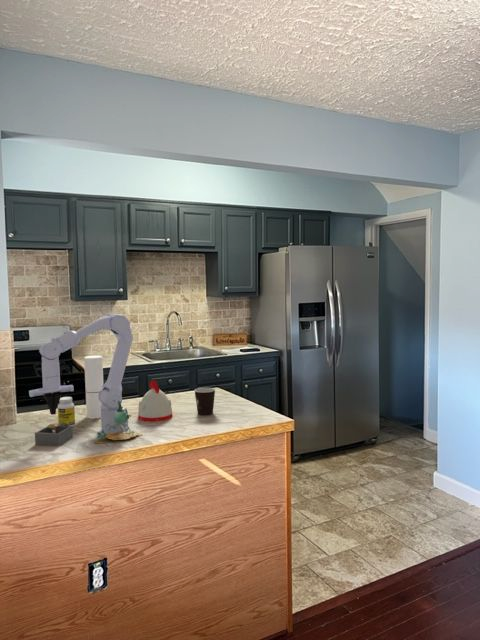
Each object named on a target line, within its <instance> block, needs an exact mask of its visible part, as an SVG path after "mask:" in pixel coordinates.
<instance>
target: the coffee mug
mask: <svg viewBox="0 0 480 640" xmlns="http://www.w3.org/2000/svg"><path fill="white" fill-rule="evenodd" d="M215 395H216V389H215V388H213V387H198V388H195V389H194V396H195V403H196V404H195V405H196V410H197V411H196V412H197V415H199V416H205V417H206V416H211V415H213V413H214V407H215V405H214V404H215Z"/></svg>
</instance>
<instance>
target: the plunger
mask: <svg viewBox="0 0 480 640" xmlns="http://www.w3.org/2000/svg"><path fill="white" fill-rule="evenodd" d="M47 426H48V429H52V432H53V433H56V432H55V429H57V428H59V424H58V422H56V423H50V424H48V425H47Z"/></svg>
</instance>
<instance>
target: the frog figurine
mask: <svg viewBox="0 0 480 640" xmlns="http://www.w3.org/2000/svg"><path fill="white" fill-rule="evenodd" d="M118 405H119V409H118V410H117V412H116V413H115V416H114V419H115V422H116V423H118V425H119V424H122V425H123V426H124V423H125V422H126V421H127V420H128V421H129V419H130V417H132V415H131V414H129V413H128V414H127V411H128V410H126V411H124V409H122V408H124V407H123V406H122V403H121V402H120V401H118ZM107 425H108V424H107ZM107 425H106V426H107ZM116 425H117V424H116ZM116 425H115V426H116ZM118 425H117V427H118ZM106 426H105V427H106ZM109 426H111V425H109ZM119 426H120V425H119ZM125 426H127V425H125ZM125 426H124V427H125ZM117 427H114V426H112V427H110V428H114V429H116V428H117ZM110 428H109V430H110ZM120 428H121V427H120ZM121 429H122V428H121ZM122 430H123V429H122ZM125 430H126V428H125ZM141 436H142V437H143V436H144V434H143V433H140V432H136V431H134V430H130V427H129V426H128V430H126V431H122V432H116V433H115V432H112V433H108V434H106V433H104V431H103V429H102V433H99V435H98V436H97V439H96V441H95V442H94V444H95V445H101V443H102V444H105V443H109V442H110V441H109V440H112V441H122V440H123V441H124V440H129V439H133V438H137V437H141ZM104 438H105V439H109V440H105V439H104Z"/></svg>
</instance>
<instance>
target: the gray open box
mask: <svg viewBox="0 0 480 640" xmlns="http://www.w3.org/2000/svg"><path fill="white" fill-rule="evenodd" d="M55 432H56V433H53V432H52V429H48V425H47V426H46V427H45V426H44V427H43V428H42V429H40V430H38V431H35V432H34V442H35V444H34V445H35V446H51V447H61V446H62V445H64V444H65V443H67V442H68V441H70V440H71V439H73V438H74V435H73V427H72V426H59V428H57V429H55Z"/></svg>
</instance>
